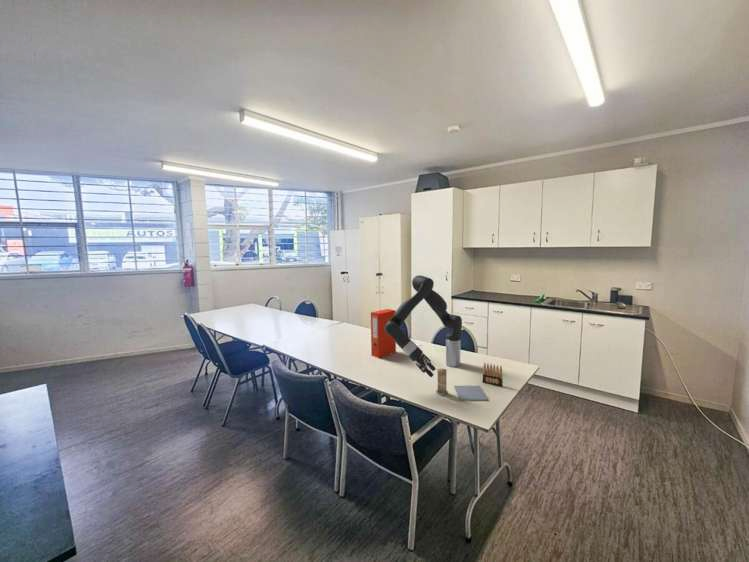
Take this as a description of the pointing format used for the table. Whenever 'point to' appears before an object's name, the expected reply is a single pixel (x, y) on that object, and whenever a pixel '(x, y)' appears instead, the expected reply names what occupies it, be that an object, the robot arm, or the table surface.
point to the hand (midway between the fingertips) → (433, 373)
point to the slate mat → (470, 393)
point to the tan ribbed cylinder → (442, 382)
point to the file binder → (381, 333)
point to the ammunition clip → (492, 375)
